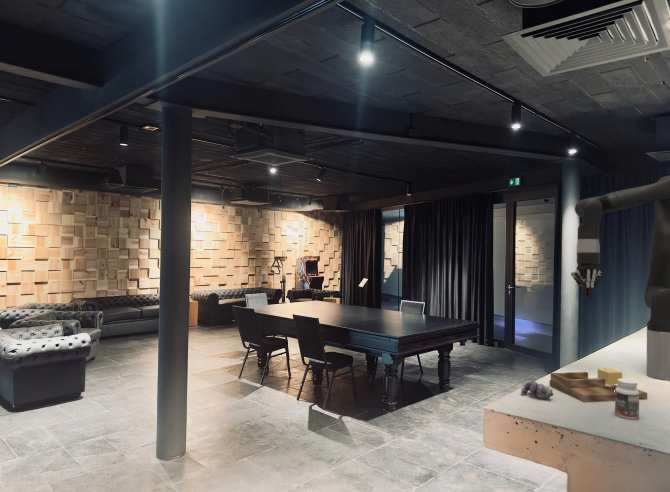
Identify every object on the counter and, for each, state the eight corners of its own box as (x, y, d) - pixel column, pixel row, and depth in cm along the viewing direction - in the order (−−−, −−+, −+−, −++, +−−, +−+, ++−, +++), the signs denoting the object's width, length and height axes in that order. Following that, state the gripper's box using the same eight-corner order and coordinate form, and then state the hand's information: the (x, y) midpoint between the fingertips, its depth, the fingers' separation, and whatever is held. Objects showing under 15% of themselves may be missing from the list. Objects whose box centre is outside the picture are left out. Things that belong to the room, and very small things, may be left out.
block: (610, 380, 157) (610, 368, 157) (621, 384, 152) (622, 372, 152) (597, 380, 156) (597, 368, 156) (608, 384, 151) (608, 372, 151)
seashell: (520, 397, 147) (553, 406, 140) (516, 386, 145) (549, 395, 138) (526, 385, 150) (558, 392, 143) (522, 374, 148) (555, 381, 141)
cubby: (586, 379, 158) (586, 371, 158) (605, 386, 149) (605, 379, 149) (550, 380, 156) (550, 373, 156) (568, 388, 147) (568, 380, 147)
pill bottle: (610, 412, 131) (610, 377, 131) (628, 412, 131) (629, 377, 132) (624, 419, 125) (624, 383, 125) (644, 419, 126) (644, 383, 126)
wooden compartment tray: (606, 383, 160) (606, 377, 160) (647, 399, 143) (647, 392, 143) (549, 385, 156) (549, 379, 156) (584, 402, 140) (584, 395, 140)
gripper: (596, 251, 176) (596, 296, 176) (565, 251, 174) (565, 296, 174) (611, 251, 169) (611, 298, 168) (579, 251, 166) (578, 298, 166)
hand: (587, 297), depth 171 cm, fingers closed
